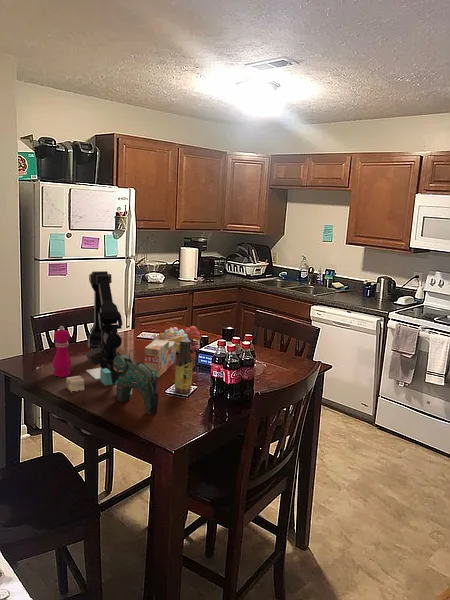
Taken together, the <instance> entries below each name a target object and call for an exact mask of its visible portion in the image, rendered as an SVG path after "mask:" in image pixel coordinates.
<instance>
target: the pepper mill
mask: <svg viewBox="0 0 450 600" xmlns="http://www.w3.org/2000/svg"><path fill="white" fill-rule="evenodd" d="M70 338H71V337H70V332H69V331H67V330H66V329H65V326H63V325H60V326H59V327H58V330H56V331H55V332H54V333H53V340H54V341H55V342H54V345H55V347H56V353H55V356H54V358H53V360H52V367H53V369H54V370H53V376H54V377H56V376H58V378H65V377H66V378H67V377H69V376H70V375H71V369H70V368H71V367H72V360H71V357H70V355H69V352H68V346H69V340H70Z"/></svg>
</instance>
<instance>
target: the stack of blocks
mask: <svg viewBox="0 0 450 600" xmlns="http://www.w3.org/2000/svg"><path fill="white" fill-rule="evenodd" d="M176 353H177V352H176V342H173V341H165V340H157V339H156V340H154V341H153V340H152V341H151V343H149V344H148V345H147V346H145V347H144V362H143V364H145V365H147V366H148V367H149V368H150V370H151V371H152V372H153V374H154V376H155V378H156V379H157V378H160V377H161V376H162V375H163V374H164V373H165V372H167V370H168V369H169V368H170V367H172V365H173V364H175V363H176V359H177V356H176Z"/></svg>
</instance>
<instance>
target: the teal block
mask: <svg viewBox="0 0 450 600" xmlns="http://www.w3.org/2000/svg"><path fill="white" fill-rule="evenodd" d="M99 381H100V382H101V383H102V385H104V386H110V385H113V384H112V380H111V372H110V371H109V370H108V369H107V368H105V369H100V379H99ZM115 384H116V385H117V381H116V383H115ZM115 384H114V385H115Z"/></svg>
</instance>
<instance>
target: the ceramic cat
mask: <svg viewBox="0 0 450 600" xmlns="http://www.w3.org/2000/svg"><path fill="white" fill-rule="evenodd" d="M131 352H132V353H133V354H134V355H135V356H136V355H137V354H136V351H134V350H133V349H130V350H129V353H126V354H125V353H124V354H122V353H120V352H119V351H117V356H116V357H115V358H114V360H113V368H114V370H115V371H116V372H117V373H118V378H117V383H116V401H118V402H120V403H125V402H128V401H130V400H131V395H130V392H131V389H132V390H133V389H136V390H137V391H138V392H140V394H141V395H142V399H143V404H144V410H145V413H146V414H147V415H149V416H150V415H154V414H156V413H158V406H159V400H160V399H159V397H160V394H159V388H158V382H157V378H156V377H155V376H154V374H153V372H152V371H151V370H150V368H149V367H148V366H147V365H145V364H144V362H143V363H142V362H135V360H134V359H133V357H132V356H131Z"/></svg>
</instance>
